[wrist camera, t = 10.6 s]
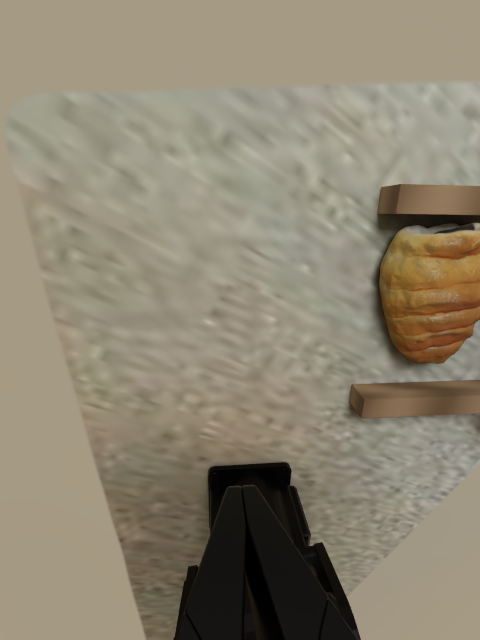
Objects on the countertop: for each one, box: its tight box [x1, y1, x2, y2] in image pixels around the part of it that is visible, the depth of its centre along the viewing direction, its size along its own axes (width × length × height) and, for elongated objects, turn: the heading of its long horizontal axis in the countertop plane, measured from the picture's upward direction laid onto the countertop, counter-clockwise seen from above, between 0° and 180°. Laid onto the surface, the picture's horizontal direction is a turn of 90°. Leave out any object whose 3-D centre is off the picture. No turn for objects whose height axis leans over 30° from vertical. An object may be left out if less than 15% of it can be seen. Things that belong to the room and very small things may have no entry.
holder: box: [349, 184, 480, 418], centre depth 19 cm, size 12×15×5 cm
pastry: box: [379, 222, 480, 364], centre depth 20 cm, size 9×7×4 cm
